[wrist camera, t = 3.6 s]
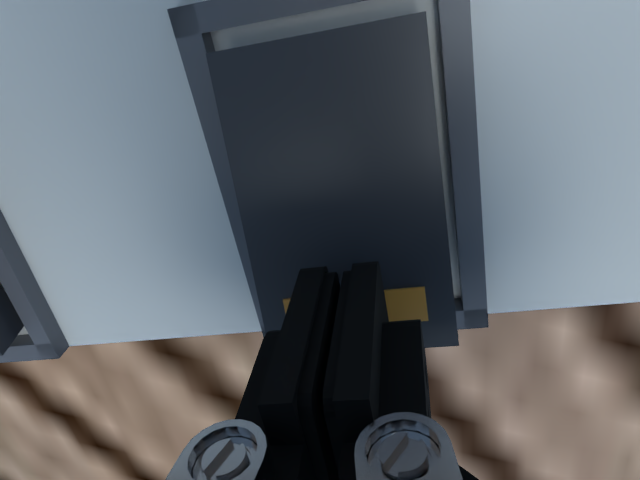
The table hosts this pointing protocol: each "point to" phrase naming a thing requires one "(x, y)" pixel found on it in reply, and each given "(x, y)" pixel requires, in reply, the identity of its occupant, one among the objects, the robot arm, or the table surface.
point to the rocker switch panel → (216, 179)
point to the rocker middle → (340, 164)
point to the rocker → (8, 322)
